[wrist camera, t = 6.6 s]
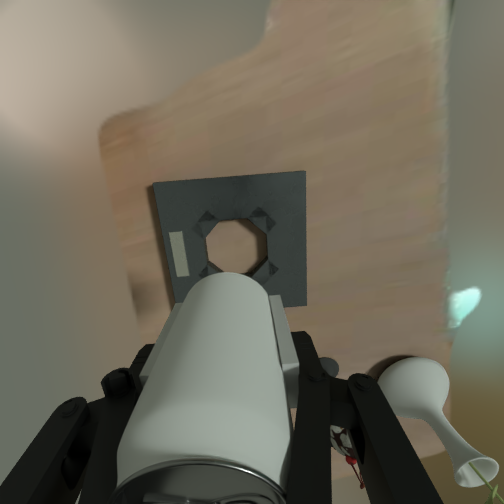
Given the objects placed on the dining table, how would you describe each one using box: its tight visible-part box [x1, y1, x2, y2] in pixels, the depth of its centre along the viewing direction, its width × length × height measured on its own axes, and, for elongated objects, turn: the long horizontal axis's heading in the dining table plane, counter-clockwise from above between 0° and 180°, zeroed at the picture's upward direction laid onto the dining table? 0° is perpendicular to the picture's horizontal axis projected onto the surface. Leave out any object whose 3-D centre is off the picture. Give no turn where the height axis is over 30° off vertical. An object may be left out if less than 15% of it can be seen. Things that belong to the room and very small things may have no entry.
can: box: [107, 272, 294, 504], centre depth 13 cm, size 6×6×12 cm
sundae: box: [319, 358, 365, 489], centre depth 34 cm, size 7×7×15 cm
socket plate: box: [153, 171, 307, 307], centre depth 33 cm, size 18×18×2 cm
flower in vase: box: [377, 357, 504, 504], centre depth 31 cm, size 13×11×25 cm
